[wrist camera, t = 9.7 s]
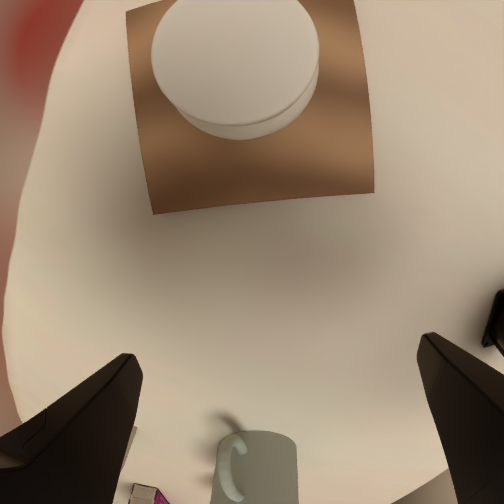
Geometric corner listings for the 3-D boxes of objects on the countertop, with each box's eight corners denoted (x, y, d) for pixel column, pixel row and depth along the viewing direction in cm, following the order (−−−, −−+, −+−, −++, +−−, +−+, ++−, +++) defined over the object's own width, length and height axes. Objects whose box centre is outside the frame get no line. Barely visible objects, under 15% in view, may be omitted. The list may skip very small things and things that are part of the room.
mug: (303, 459, 32) (306, 527, 23) (234, 468, 34) (228, 531, 25) (273, 400, 27) (273, 491, 18) (188, 412, 29) (168, 493, 20)
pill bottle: (181, 98, 16) (96, 81, 7) (240, 24, 14) (213, -62, 5) (259, 152, 18) (251, 187, 8) (319, 79, 16) (377, 36, 6)
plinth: (368, 188, 19) (374, 192, 18) (159, 209, 20) (153, 214, 19) (344, -12, 14) (349, -18, 13) (132, 16, 15) (125, 11, 14)
